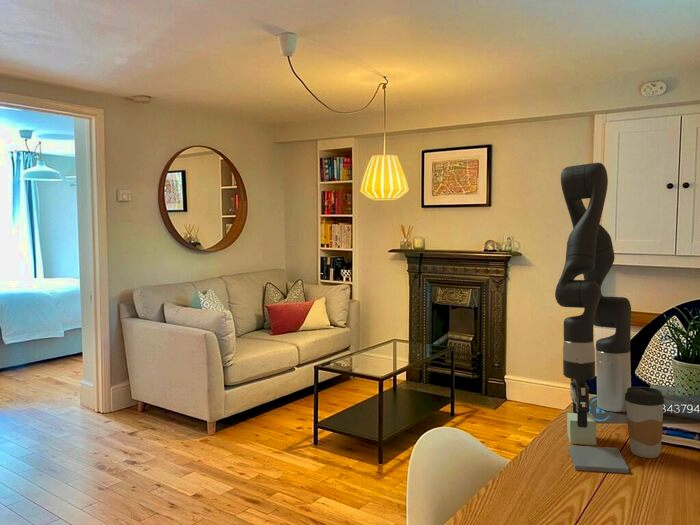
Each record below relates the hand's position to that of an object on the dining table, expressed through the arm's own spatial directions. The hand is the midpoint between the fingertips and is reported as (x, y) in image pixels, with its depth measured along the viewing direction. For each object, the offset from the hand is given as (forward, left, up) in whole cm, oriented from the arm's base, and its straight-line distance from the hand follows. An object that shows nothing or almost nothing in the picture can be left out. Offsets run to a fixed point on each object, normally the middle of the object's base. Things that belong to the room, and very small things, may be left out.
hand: (579, 421), depth 140 cm
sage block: (0, 0, -5) cm, 5 cm away
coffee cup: (+6, +14, -5) cm, 16 cm away
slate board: (+13, +2, -5) cm, 14 cm away
